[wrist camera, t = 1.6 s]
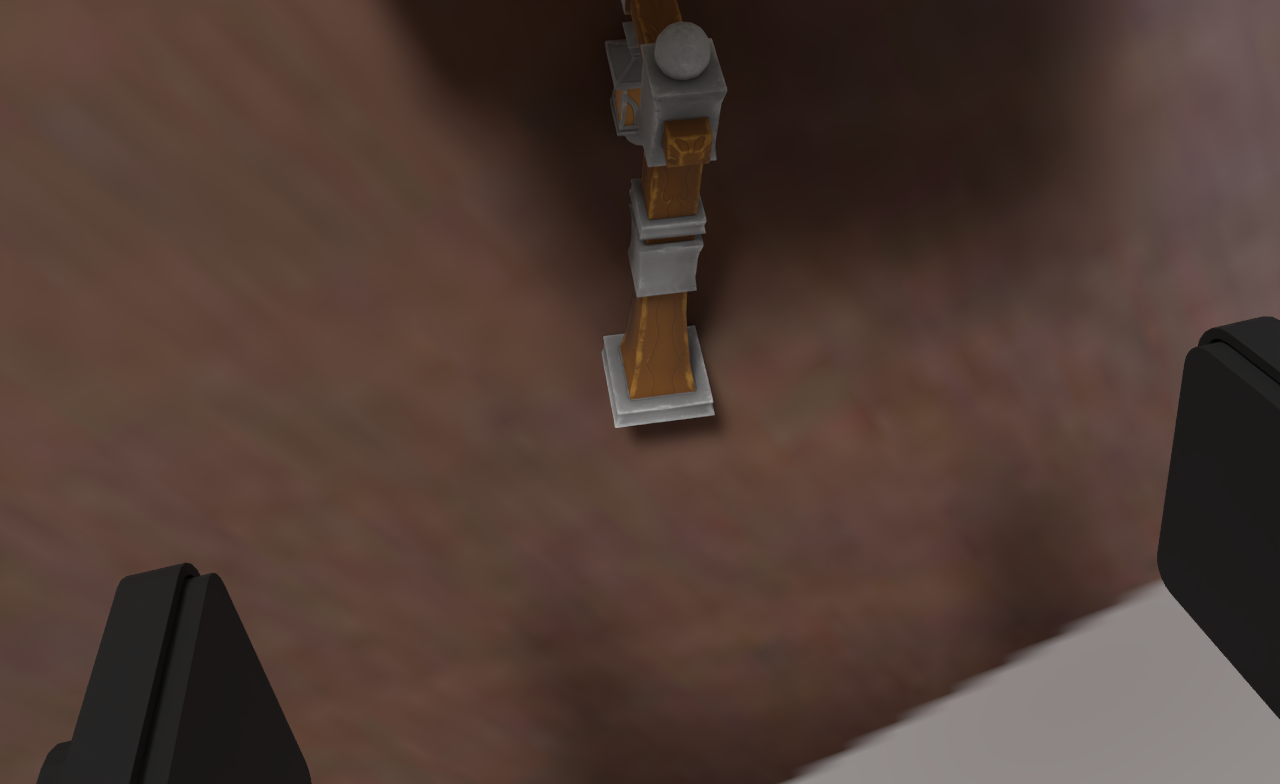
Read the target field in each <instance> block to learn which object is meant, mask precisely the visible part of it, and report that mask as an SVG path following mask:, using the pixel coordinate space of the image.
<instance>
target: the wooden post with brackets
mask: <svg viewBox="0 0 1280 784" xmlns="http://www.w3.org/2000/svg"><path fill="white" fill-rule="evenodd" d="M621 1H622V6H623V10H624V14H625V15H629V14H631V17H632V22H622V23H623V28H624V32H625V36H626V39H622V40H611V41H605V48H606V53H607V57H608V62H609V66H610V70H611V75H612V79H613V84H614V89H613V92H612V97H611V98H610V104H611V109H612V113H613V118H614V123H615V127H616V132H617V136H625V137H626V138H627V140H628V141H630V142H631V143H633V144H635V145H643V149H644V157H643V166H642V175H641V178H637V179H631V184H632V186H631V189H630V190H629V195H630V199H631V204H629V208H630V213H631V218H632V222H631V243H630V245H629V248H628V251H627V252H628V257H629V262H630V267H631V271H632V276H633V281H634V291H633V296H632V302H631V307H630V312H629V318H628V323H627V328H626V331H625V334H618V335H610V336H603V338H604V348H603V350H602V358H603V363H604V368H605V374H606V379H607V385H608V390H609V396H610V401H611V407H612V412H613V418H614V423H615V428H618V427H626V426H633V425H641V424H649V423H657V422H664V421H672V420H680V419H688V418H695V417H703V416H711V415H715V414H714V409H713V405H712V403H713V398H712V394H711V389H710V385H709V381H708V377H707V373H706V369H705V365H704V361H703V357H702V352H701V348H700V344H699V340H698V336H697V332H696V328H695V325H693V326H687V318H686V305H687V292H688V291H696V290H697V288H696V280H695V276H696V269H697V262H698V255H699V253H700V251H701V250H702V248H703V246H704V244H703V240H702V236H701V234H705V233H706V231H705V227H704V225H705V223H706V222H707V220H706V216H705V212H704V208H703V205H702V201H701V197H700V193H699V192H700V184H701V177H702V169H703V164H707V163H710V161H712V160H716V149H715V143H716V136H717V130H718V123H719V117H720V110H721V104H722V101H723V99H724V97H725V95H726V93H727V91H728V90H727V87H726V84H725V80H724V77H723V74H722V70H721V67H720V64H719V60H718V57H717V54H716V51H715V47H714V44H713V41H712V38H709V39H708V37H707V35H706V34H705V32H704V31H703V30H702V29H701V28H700V27H699V26H697V25H695V24H693V23H691V22H683V21H682V18H681V14H680V11H679V7H678V3H677V0H621Z"/></svg>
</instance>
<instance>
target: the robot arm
mask: <svg viewBox="0 0 1280 784" xmlns="http://www.w3.org/2000/svg"><path fill="white" fill-rule="evenodd" d="M1157 562H1158V568H1159V572H1160V575H1161V578H1162V580H1163V582H1164V584H1165V586H1166V587H1167V589H1168V590H1169V592H1170V593H1171V594H1172V595H1173V596H1174V598H1175V599H1176V600H1177V601H1178V602H1179V604H1180V605H1181V606H1182V607H1183V608H1184V609H1185V610H1186V612H1187V613H1188V614H1189V615H1190V616H1191V617H1192V618H1193V620H1194V621H1195V622H1196V623H1197V624H1198V625H1199V627H1200V628H1201V629H1202V630H1203V631H1204V632H1205V634H1206V635H1207V636H1208V637H1209V638H1210V639H1211V640H1212V642H1213V643H1214V644H1215V645H1216V646H1217V647H1218V649H1219V650H1220V651H1221V652H1222V653H1223V654H1224V656H1225V657H1226V658H1227V659H1228V660H1229V661H1230V662H1231V663H1232V665H1233V666H1234V667H1235V668H1236V669H1237V671H1238V672H1239V673H1240V674H1241V675H1242V676H1243V678H1244V679H1245V680H1246V681H1247V682H1248V683H1249V684H1250V686H1251V687H1252V688H1253V689H1254V690H1255V691H1256V693H1257V694H1258V695H1259V696H1260V697H1261V698H1262V699H1263V701H1264V702H1265V703H1266V704H1267V705H1268V706H1269V708H1270V709H1271V710H1272V711H1273V712H1274V713H1275V714H1276V716H1277V717H1278V718H1279V719H1280V320H1278V319H1276V318H1274V317H1259V318H1254V319H1250V320H1246V321H1241V322H1237V323H1233V324H1228V325H1224V326H1219V327H1215V328H1211V329H1210V330H1208V331H1206V332H1205V333H1204V334H1203V335H1202V337H1201V338H1200V340H1199V344H1198V347H1195V348H1193V349H1191V350H1190V351H1189V353H1188V354H1187V356H1186V359H1185V363H1184V370H1183V377H1182V384H1181V391H1180V398H1179V405H1178V412H1177V419H1176V426H1175V433H1174V440H1173V447H1172V454H1171V461H1170V468H1169V475H1168V482H1167V489H1166V496H1165V503H1164V510H1163V517H1162V524H1161V531H1160V538H1159V545H1158V553H1157ZM36 784H312V783H311V777H310V773H309V770H308V767H307V764H306V761H305V759H304V757H303V755H302V753H301V751H300V748H299V746H298V744H297V742H296V740H295V737H294V735H293V733H292V731H291V729H290V727H289V724H288V722H287V720H286V718H285V716H284V713H283V711H282V709H281V707H280V705H279V703H278V700H277V698H276V696H275V694H274V692H273V690H272V687H271V685H270V683H269V681H268V679H267V676H266V674H265V672H264V670H263V668H262V666H261V663H260V661H259V659H258V657H257V655H256V652H255V650H254V648H253V646H252V644H251V642H250V639H249V637H248V635H247V633H246V631H245V629H244V626H243V624H242V622H241V620H240V618H239V615H238V613H237V611H236V609H235V607H234V605H233V602H232V600H231V598H230V596H229V594H228V591H227V589H226V587H225V585H224V583H223V581H222V580H221V578H220V577H219V576H218V575H217V574H215V573H211V574H206V575H202V576H200V574H199V572H198V570H197V569H196V568H195V567H194V566H193V565H192V564H190V563H183V564H178V565H174V566H170V567H165V568H161V569H156V570H152V571H148V572H143V573H139V574H135V575H130V576H126V577H125V578H123V579H122V580H121V581H120V583H119V585H118V587H117V590H116V594H115V597H114V600H113V604H112V607H111V610H110V614H109V617H108V620H107V624H106V627H105V630H104V634H103V637H102V640H101V644H100V647H99V650H98V654H97V657H96V660H95V664H94V667H93V670H92V674H91V677H90V680H89V684H88V687H87V690H86V694H85V697H84V700H83V704H82V707H81V710H80V714H79V717H78V721H77V724H76V727H75V731H74V734H73V737H72V741H68V742H64V743H60V744H57V745H56V746H55V747H54V748H53V749H52V750H51V751H50V752H49V753H48V755H47V757H46V759H45V762H44V764H43V766H42V768H41V771H40V774H39V777H38V780H37V783H36Z"/></svg>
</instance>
